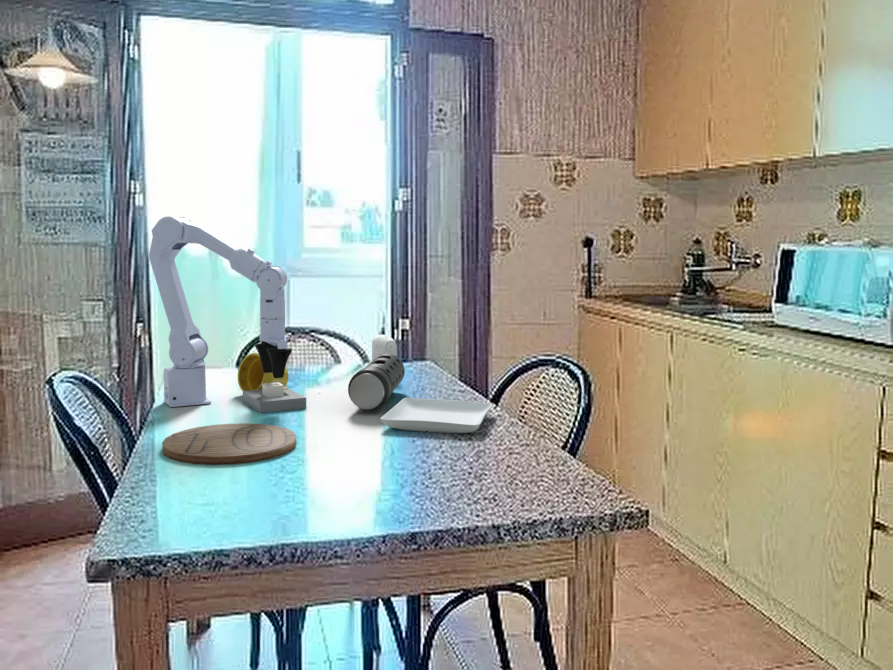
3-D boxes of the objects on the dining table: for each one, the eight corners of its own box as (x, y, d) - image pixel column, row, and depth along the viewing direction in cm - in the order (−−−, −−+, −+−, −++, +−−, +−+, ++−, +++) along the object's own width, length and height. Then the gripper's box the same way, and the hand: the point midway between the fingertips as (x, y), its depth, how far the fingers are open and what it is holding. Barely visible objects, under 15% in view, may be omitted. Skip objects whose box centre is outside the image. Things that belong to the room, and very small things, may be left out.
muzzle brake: (405, 392, 214) (406, 353, 212) (387, 417, 186) (387, 371, 185) (369, 391, 214) (369, 351, 213) (345, 415, 187) (345, 370, 185)
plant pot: (298, 384, 208) (269, 379, 200) (273, 405, 212) (243, 402, 205) (287, 350, 213) (257, 344, 205) (262, 372, 217) (232, 367, 209)
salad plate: (479, 439, 168) (479, 423, 167) (378, 433, 172) (378, 417, 171) (493, 416, 188) (494, 402, 188) (403, 411, 193) (403, 397, 192)
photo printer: (398, 381, 228) (398, 336, 227) (384, 382, 226) (384, 337, 225) (383, 375, 237) (383, 332, 236) (369, 376, 235) (369, 333, 234)
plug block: (267, 407, 194) (267, 385, 193) (262, 404, 197) (262, 382, 197) (284, 405, 196) (283, 384, 195) (278, 402, 199) (278, 381, 198)
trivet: (158, 471, 144) (157, 460, 144) (166, 435, 168) (166, 426, 168) (302, 462, 151) (302, 451, 150) (291, 429, 175) (290, 420, 174)
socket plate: (260, 412, 188) (260, 401, 187) (242, 401, 200) (242, 390, 200) (306, 408, 193) (306, 396, 193) (286, 397, 205) (286, 386, 205)
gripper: (299, 320, 190) (299, 378, 191) (279, 314, 202) (279, 369, 204) (269, 322, 186) (270, 381, 188) (250, 315, 199) (251, 371, 200)
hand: (273, 375), depth 196 cm, fingers open, 7 cm apart
